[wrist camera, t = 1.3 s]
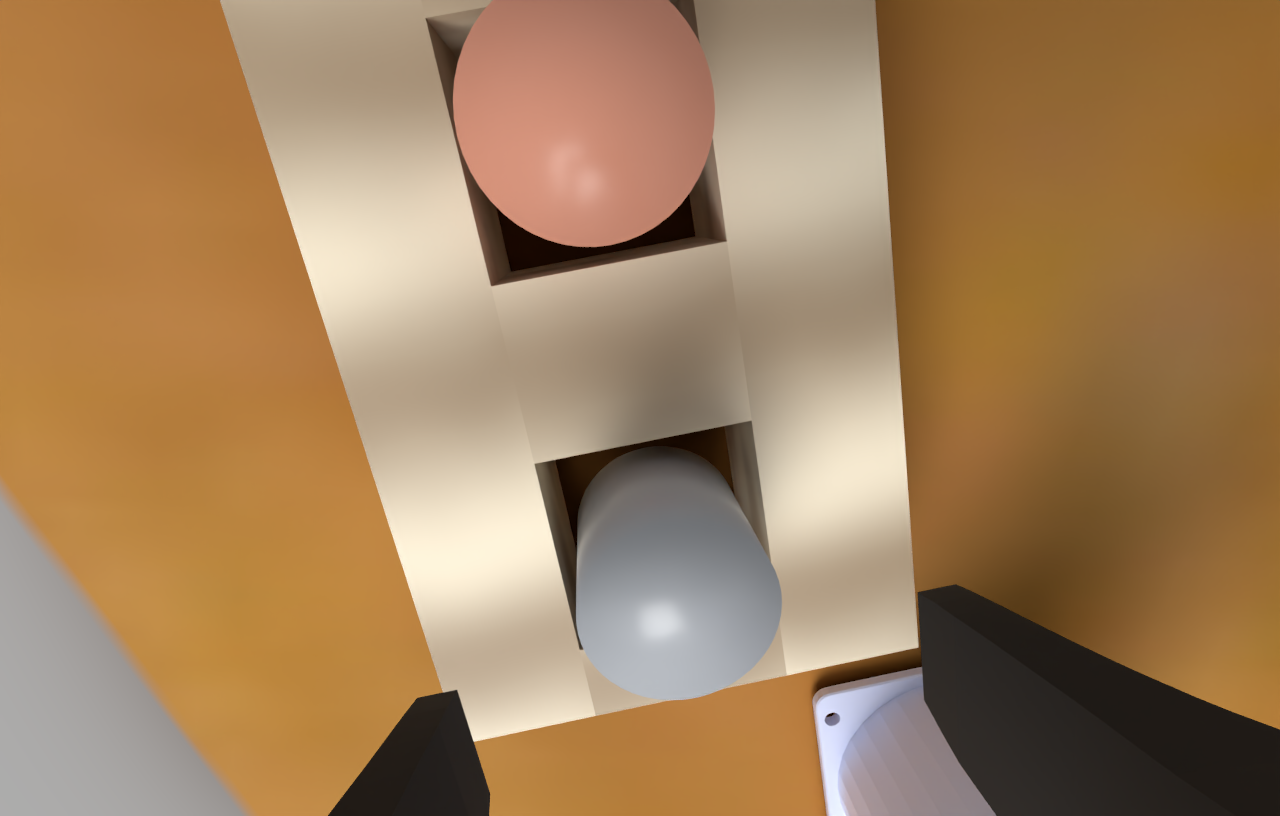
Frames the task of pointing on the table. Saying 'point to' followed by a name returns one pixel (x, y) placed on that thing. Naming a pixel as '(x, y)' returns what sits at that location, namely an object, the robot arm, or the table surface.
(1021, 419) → the table surface
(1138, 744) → the robot arm
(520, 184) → the terracotta button
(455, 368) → the button panel
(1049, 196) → the table surface
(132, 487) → the table surface
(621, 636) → the grey button
